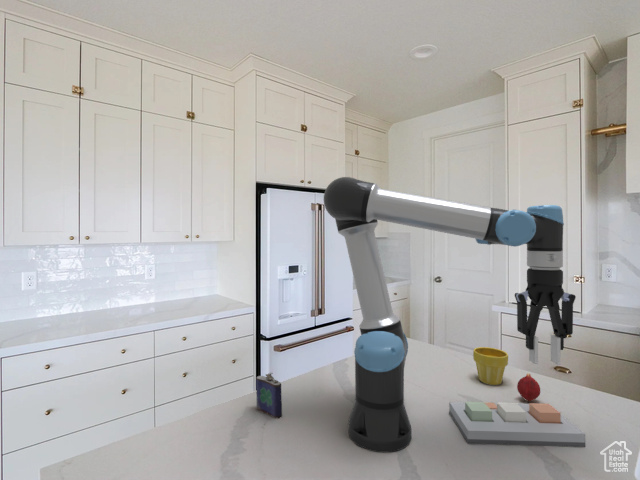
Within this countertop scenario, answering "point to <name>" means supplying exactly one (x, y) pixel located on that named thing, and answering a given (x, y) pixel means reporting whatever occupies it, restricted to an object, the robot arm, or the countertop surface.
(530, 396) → the onion
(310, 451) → the countertop surface
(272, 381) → the flask
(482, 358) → the plant pot
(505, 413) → the key offwhite
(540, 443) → the keypad
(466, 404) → the key sage
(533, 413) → the key terracotta
